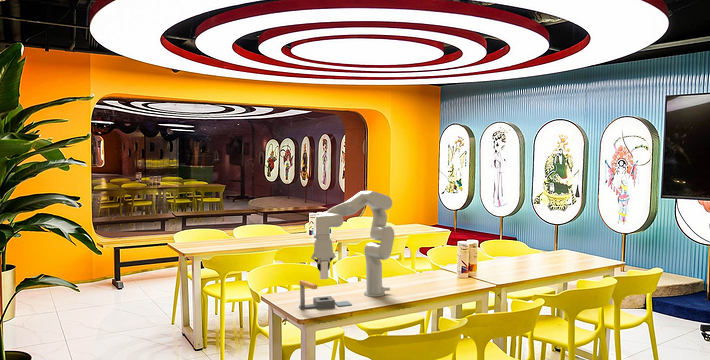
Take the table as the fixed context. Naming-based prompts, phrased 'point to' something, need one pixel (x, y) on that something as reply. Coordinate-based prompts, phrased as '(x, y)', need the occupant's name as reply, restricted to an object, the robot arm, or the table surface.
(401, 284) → the table surface
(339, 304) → the pad
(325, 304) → the socket block
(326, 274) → the plug
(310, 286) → the latch bar
